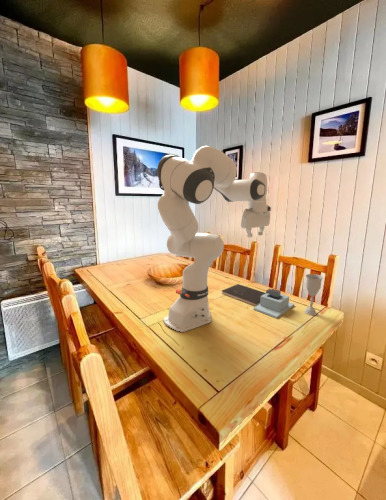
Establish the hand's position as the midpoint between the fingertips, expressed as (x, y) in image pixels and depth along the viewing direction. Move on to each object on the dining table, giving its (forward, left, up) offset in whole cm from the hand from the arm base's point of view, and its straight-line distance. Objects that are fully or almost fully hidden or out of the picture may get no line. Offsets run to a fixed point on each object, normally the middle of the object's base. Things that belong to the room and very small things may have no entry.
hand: (255, 236), depth 113 cm
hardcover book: (+4, +6, -36) cm, 36 cm away
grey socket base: (+1, -12, -35) cm, 37 cm away
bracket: (+1, -12, -34) cm, 36 cm away
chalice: (+8, -26, -35) cm, 45 cm away
